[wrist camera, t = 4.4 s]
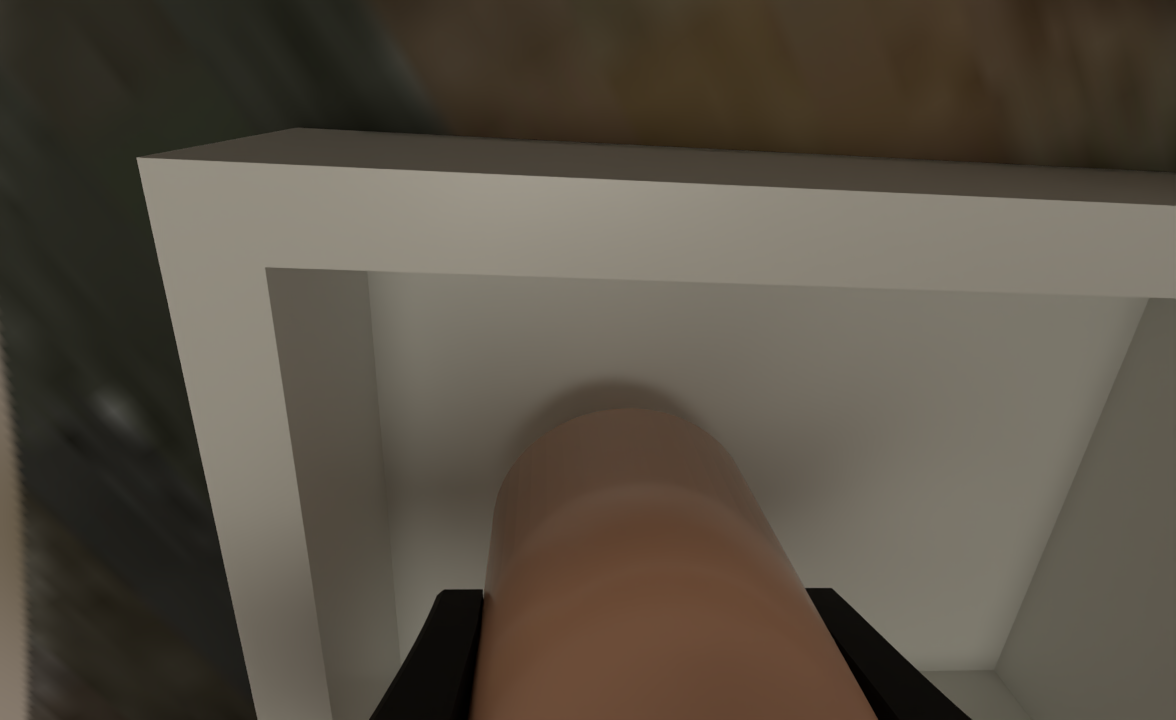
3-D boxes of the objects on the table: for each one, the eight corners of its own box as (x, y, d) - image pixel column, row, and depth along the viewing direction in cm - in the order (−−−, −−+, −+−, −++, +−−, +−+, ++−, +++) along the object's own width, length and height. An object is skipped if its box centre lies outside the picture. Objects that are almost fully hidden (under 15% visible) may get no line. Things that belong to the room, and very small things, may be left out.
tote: (1227, 174, 13) (1593, 225, 9) (1007, 682, 19) (1156, 875, 14) (296, 127, 12) (135, 157, 7) (363, 692, 17) (299, 911, 13)
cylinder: (765, 409, 12) (1039, 771, 5) (732, 624, 14) (907, 1094, 7) (492, 405, 11) (423, 790, 5) (494, 627, 13) (445, 1127, 7)
